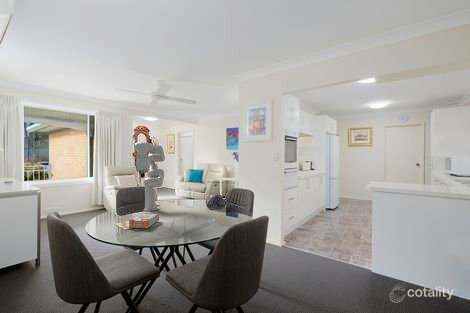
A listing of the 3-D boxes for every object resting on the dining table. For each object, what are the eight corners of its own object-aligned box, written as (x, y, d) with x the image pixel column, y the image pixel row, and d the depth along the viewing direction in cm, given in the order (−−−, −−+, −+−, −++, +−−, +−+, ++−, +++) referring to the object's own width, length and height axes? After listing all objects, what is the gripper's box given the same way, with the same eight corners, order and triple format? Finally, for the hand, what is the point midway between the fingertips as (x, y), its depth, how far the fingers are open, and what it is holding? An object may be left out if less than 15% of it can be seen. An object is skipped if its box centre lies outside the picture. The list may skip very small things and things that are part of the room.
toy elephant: (223, 207, 244) (221, 192, 246) (230, 207, 228) (228, 192, 230) (205, 210, 235) (203, 195, 237) (210, 210, 220) (208, 194, 222)
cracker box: (159, 212, 190) (146, 220, 169) (159, 220, 190) (146, 228, 169) (143, 212, 191) (128, 220, 170) (143, 219, 191) (128, 228, 171)
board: (142, 218, 198) (142, 217, 198) (153, 223, 184) (153, 222, 184) (114, 224, 182) (114, 223, 182) (125, 230, 168) (125, 229, 168)
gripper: (148, 156, 212) (148, 176, 213) (131, 157, 201) (132, 178, 202) (152, 156, 207) (152, 177, 208) (135, 157, 196) (136, 179, 197)
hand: (142, 177), depth 205 cm, fingers closed
